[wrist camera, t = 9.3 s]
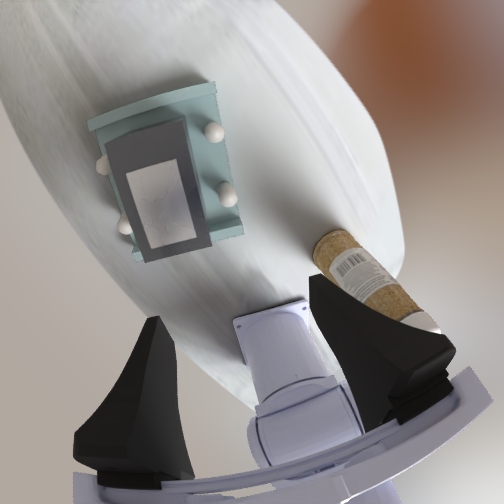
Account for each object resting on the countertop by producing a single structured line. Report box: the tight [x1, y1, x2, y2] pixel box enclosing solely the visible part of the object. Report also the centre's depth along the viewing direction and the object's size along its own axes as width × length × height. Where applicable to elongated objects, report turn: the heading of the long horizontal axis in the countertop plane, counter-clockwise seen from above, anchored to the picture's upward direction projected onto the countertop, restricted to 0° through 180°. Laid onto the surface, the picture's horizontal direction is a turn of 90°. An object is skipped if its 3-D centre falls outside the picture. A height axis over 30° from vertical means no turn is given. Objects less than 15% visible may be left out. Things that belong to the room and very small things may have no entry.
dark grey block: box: [104, 116, 212, 263], centre depth 15 cm, size 7×4×6 cm, turn 8°
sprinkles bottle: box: [313, 230, 441, 334], centre depth 20 cm, size 5×4×13 cm
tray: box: [86, 81, 244, 262], centre depth 17 cm, size 11×8×3 cm
